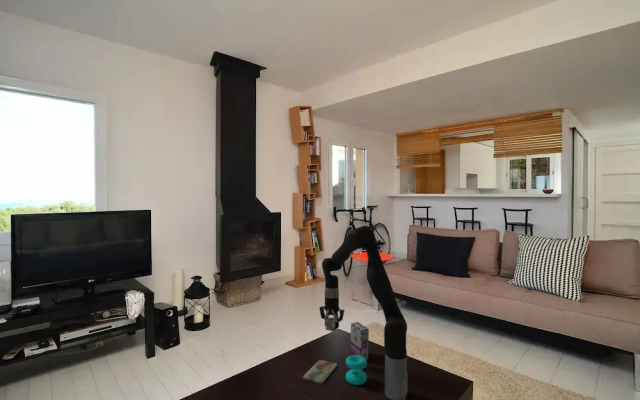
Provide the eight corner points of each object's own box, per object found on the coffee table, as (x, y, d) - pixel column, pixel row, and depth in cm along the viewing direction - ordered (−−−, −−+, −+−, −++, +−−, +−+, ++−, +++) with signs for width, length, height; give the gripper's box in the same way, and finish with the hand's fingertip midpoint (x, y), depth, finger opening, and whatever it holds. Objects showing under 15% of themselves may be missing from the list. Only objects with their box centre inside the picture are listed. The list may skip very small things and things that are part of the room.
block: (338, 328, 169) (338, 318, 169) (334, 331, 165) (334, 321, 165) (329, 326, 171) (329, 317, 171) (325, 329, 167) (325, 320, 167)
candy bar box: (369, 359, 169) (369, 328, 169) (361, 361, 167) (361, 330, 167) (357, 350, 179) (358, 321, 179) (350, 352, 177) (350, 322, 177)
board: (337, 365, 162) (337, 363, 162) (322, 384, 146) (322, 381, 146) (319, 361, 167) (319, 359, 167) (303, 378, 150) (303, 376, 150)
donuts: (341, 360, 148) (351, 351, 156) (341, 382, 148) (351, 372, 156) (361, 366, 143) (370, 357, 151) (361, 388, 143) (370, 378, 151)
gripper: (347, 295, 168) (347, 327, 168) (322, 292, 174) (322, 323, 174) (341, 299, 161) (341, 332, 161) (316, 295, 168) (316, 327, 168)
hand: (331, 327), depth 168 cm, fingers closed on block, 5 cm apart
